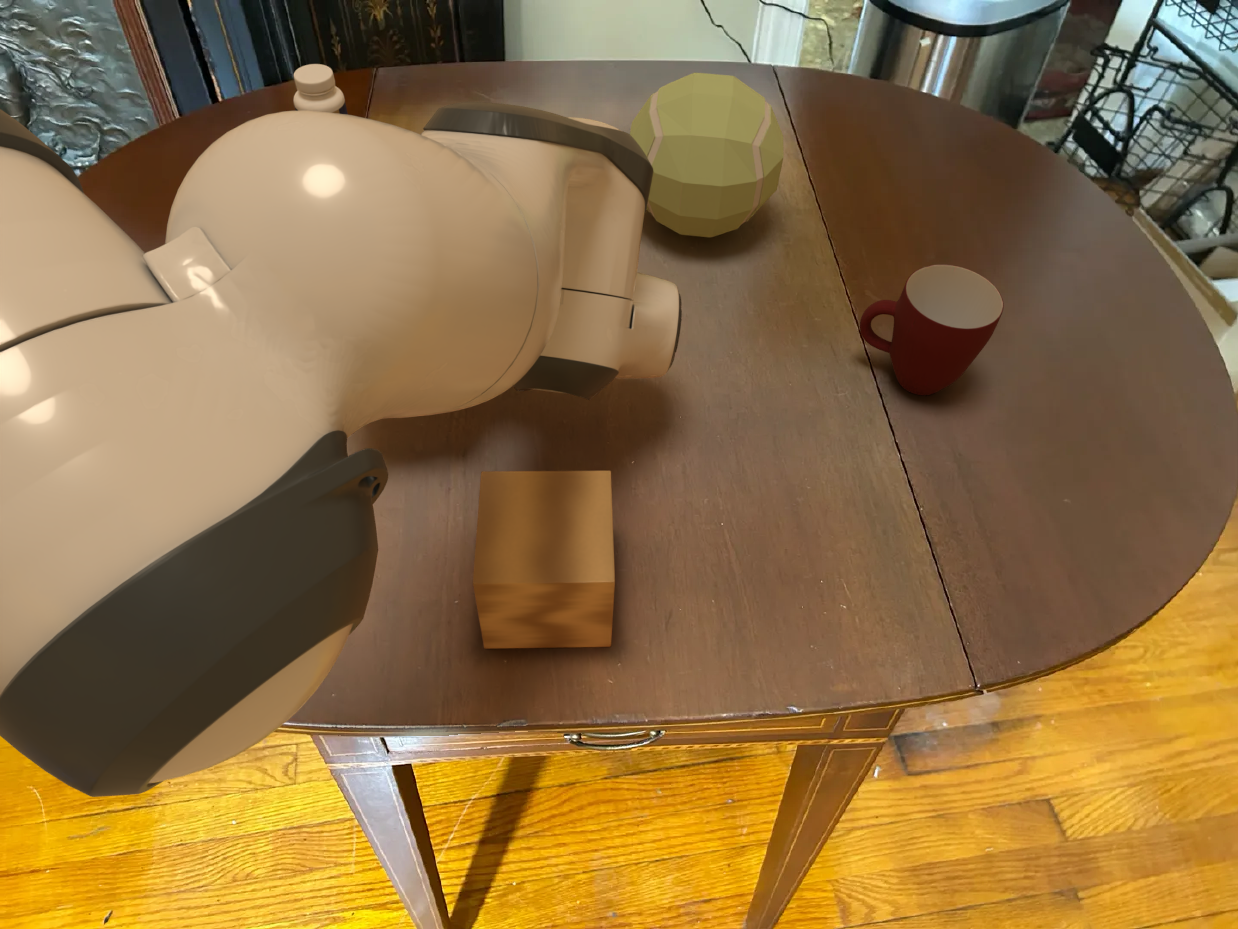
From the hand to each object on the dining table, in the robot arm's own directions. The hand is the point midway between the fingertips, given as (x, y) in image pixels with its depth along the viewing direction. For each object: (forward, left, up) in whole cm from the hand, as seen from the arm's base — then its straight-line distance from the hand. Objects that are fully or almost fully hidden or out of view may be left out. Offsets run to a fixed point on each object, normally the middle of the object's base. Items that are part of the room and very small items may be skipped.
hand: (305, 285), depth 72 cm
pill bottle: (-6, +34, -10) cm, 36 cm away
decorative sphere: (+34, +22, -10) cm, 42 cm away
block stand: (+19, -23, -10) cm, 31 cm away
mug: (+51, -1, -10) cm, 52 cm away
